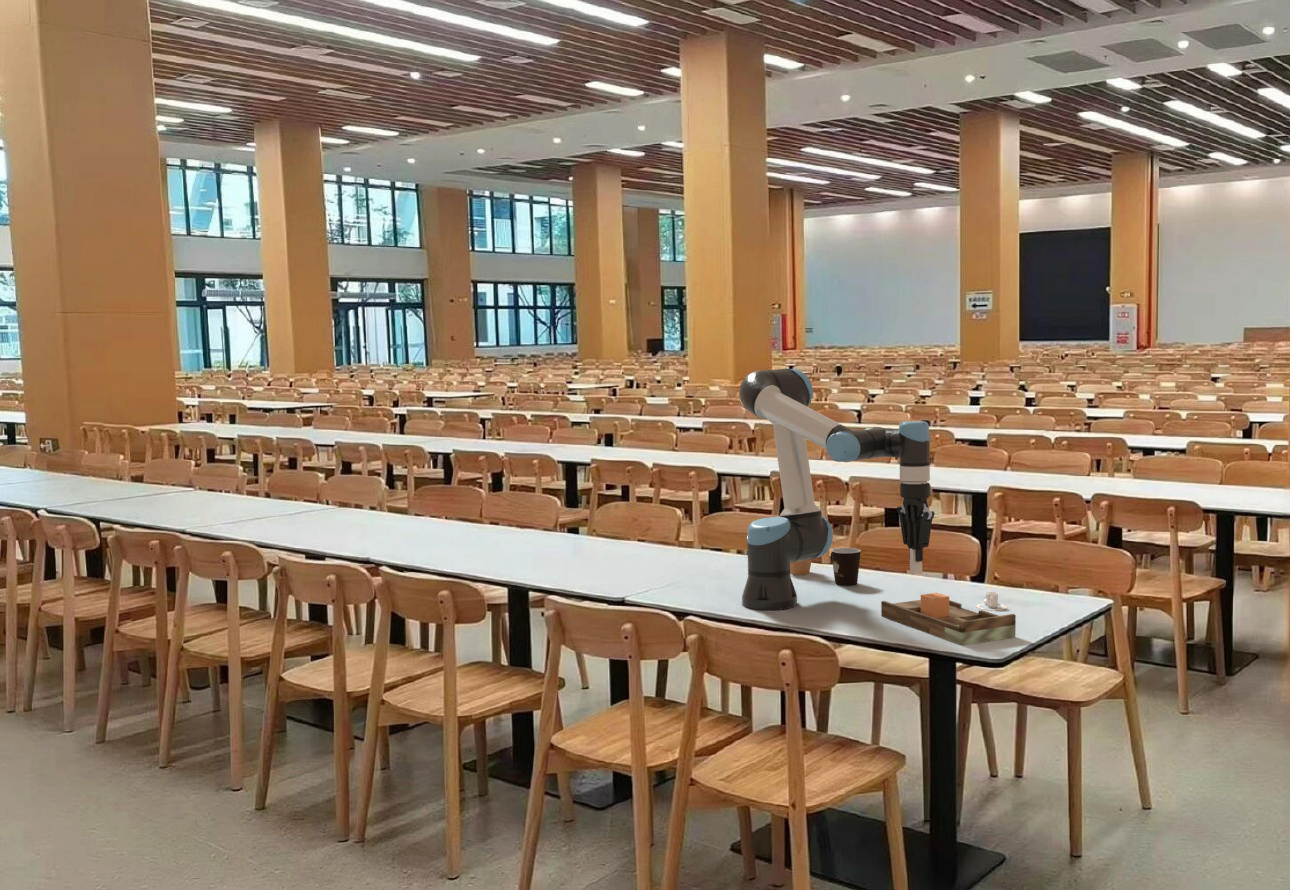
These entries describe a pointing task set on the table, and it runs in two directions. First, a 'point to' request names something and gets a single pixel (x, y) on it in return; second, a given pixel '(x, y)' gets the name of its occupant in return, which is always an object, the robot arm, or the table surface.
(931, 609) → the block
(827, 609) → the table surface
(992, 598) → the teacup and saucer
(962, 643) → the board
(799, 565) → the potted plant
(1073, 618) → the table surface
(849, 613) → the table surface
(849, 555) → the coffee mug
